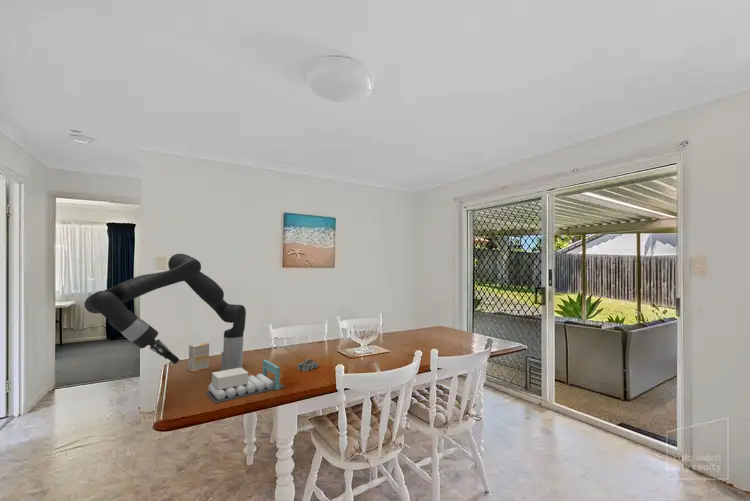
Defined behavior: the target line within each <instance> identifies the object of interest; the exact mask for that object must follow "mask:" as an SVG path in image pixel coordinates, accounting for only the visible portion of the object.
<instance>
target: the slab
mask: <svg viewBox="0 0 750 501" xmlns="http://www.w3.org/2000/svg"><path fill="white" fill-rule="evenodd" d="M248 377H249V372H248V371H247V370H245V369H244V368H243V367H242V368H235V369H229V370H224V371H221V370H220V371H214V372H211V383H212V384H213V385H214V386H215V388H216V389H217V390H219V389H224V388H229V387H234V386H238V385H243V384H248Z"/></svg>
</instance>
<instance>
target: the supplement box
mask: <svg viewBox="0 0 750 501" xmlns="http://www.w3.org/2000/svg"><path fill="white" fill-rule="evenodd" d="M209 363H210V343H209V342H198V343H194V344H188V370H187V371H188V372H190V373H197V372H201V371H205V370H209V367H210V366H209Z"/></svg>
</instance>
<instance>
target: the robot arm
mask: <svg viewBox="0 0 750 501" xmlns="http://www.w3.org/2000/svg"><path fill="white" fill-rule="evenodd" d="M167 265H168V269H169V270H165V271H160V272H155V273H154V272H153V273H149V274H142V275H137V276H135V277H132V278H130V279H127V280H125V281H122V282H120V283H118V284H116V285H115V286H112V287H110V288H107V289H104V290H98V291H97V292H94V293H92V294H90V295H88V297H87V298H86V299H85V301H84V307H85V310H86V311H87V312H89V313H91V314H101V315H102V316H103V317H105V318H106V319H107V320H108V323H109V325H110V326H112V328H114V329H115V330H116V331H117V332H119V333H121V335H122V336H123V337H124V338H126V339H128V340H129V341H130V342H131V343H132V344H134V345H135V346H137V347H138V348H139V349H144V348H147V346H149V349H150V350H151V351H153V353H155V354H158V356H161V357H163V358H164V359H166V360H168V361H170V362H171V363H173V365H176V364H178V362H180V359H179V357H178V356H177V355H175V354H174V353H173V352H172V351H171V350H170V349H169V348H168V346H167V345H166V344H164V343H163V342H162V340H160V339H159V338H158V339H157V340H156V338H157V337H158V335H159V331H158V330H157V329H155V328H154V327H152V325H151V324H149V323H148V322H146V321H145V320H144V319H142V318H140V317H139V316H137V315H136V314H134V312H133V311H131V310H129V309H128V307H127V306H126V305H125V304H124V303H125V302H129V301H131V300H135V299H137V298H138V297H141V296H143V295H146V294H148V293H150V292H152V291H156V290H158V289H161V288H164V287H167V286H171V285H174V284H179V283H181V282H185V283H186V284H187V285H188V286H189V287H190V289H191V290H192V291H193V292H194V293H195V294H196V295H197V296H198V297H199V298H200V299H201V300H203V302H204V303H206V304H207V305H208V306H209V307H210V308H211V309H213V311H214V312H215V313H216V314H217V315H218V317H219V318H220V320H222V321H223V322H225V323H231V324H232V327H231V328H230V329H226V330H224V332H223V347H222V348H223V350H222V352H221V353H220V354H221V356H220V357H221V358H220V371H224V370H229V369H235V368H243V363H244V362H243V358H244V333H245V328H246V317H247V310H246V307H245V306H244V304H243V305H242V304H231V303H228V302H227V301H225V300H224V297H225V292H224V290H223V288H222V287H221V286H220V285H219V284H218V282H216V281H215V280H214V279H212V278H211V277H210V276H208V275H206V274H205V273H203V272H201V270H202V264H201V262H200V260H198V259H197V258H195V257H192V256H190V255H188V254H185V253H176V254H173V255H171V257H170V258H169V259H168V263H167Z"/></svg>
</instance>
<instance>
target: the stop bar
mask: <svg viewBox="0 0 750 501" xmlns="http://www.w3.org/2000/svg"><path fill="white" fill-rule="evenodd" d="M280 370H281V368H280V367H279V366H278V365H277V364H275V363H273V362H271V361H270V360H267V359H263V360H262V374H263V375H264V376H266V377H267V378H268V372H270V373H271V374H273V375H274V380H275V390H274V391H278V390H280V389H279V383H280V380H281V379H280V374H281V371H280Z"/></svg>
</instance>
